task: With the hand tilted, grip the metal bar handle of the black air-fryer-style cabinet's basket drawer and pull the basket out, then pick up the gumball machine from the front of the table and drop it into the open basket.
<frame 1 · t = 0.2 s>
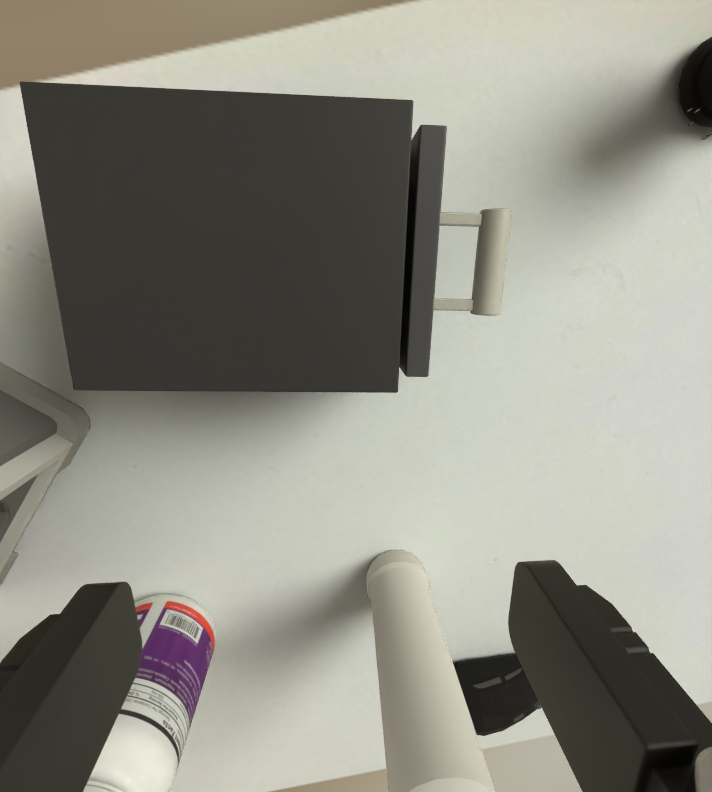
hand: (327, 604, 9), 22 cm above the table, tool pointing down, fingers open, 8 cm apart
gumball machine: (706, 88, 26), on the table
basket: (331, 260, 23), point 5 cm above the table, slide at 0.5 cm
pill bottle: (173, 624, 36), on the table
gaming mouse: (501, 674, 40), on the table
fryer: (264, 260, 28), on the table
bottle: (395, 571, 36), on the table
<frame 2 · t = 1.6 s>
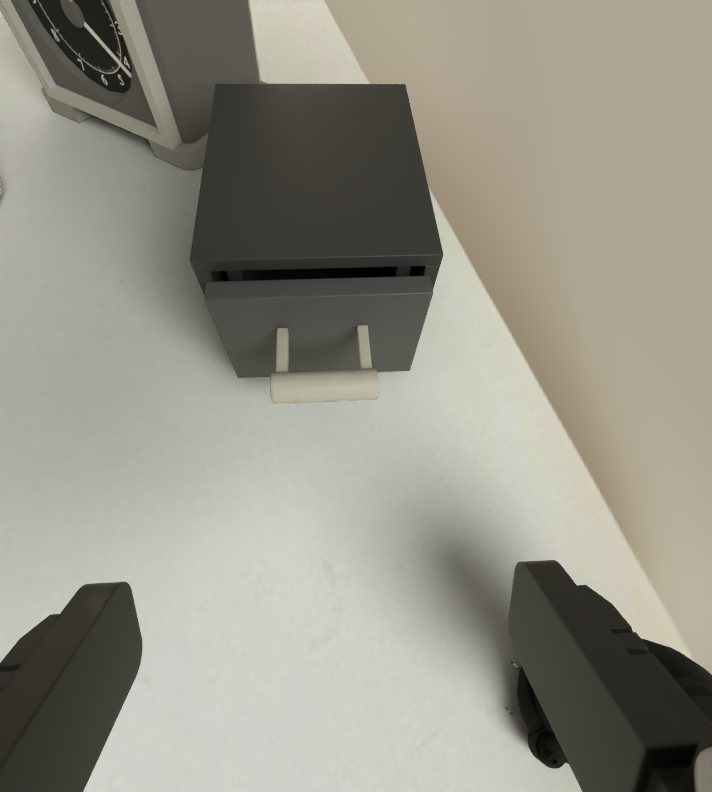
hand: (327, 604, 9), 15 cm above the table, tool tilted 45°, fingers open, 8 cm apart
gumball machine: (557, 694, 21), on the table
basket: (320, 274, 27), point 5 cm above the table, slide at 0.5 cm
alarm clock: (164, 107, 42), on the table
fryer: (320, 275, 33), on the table
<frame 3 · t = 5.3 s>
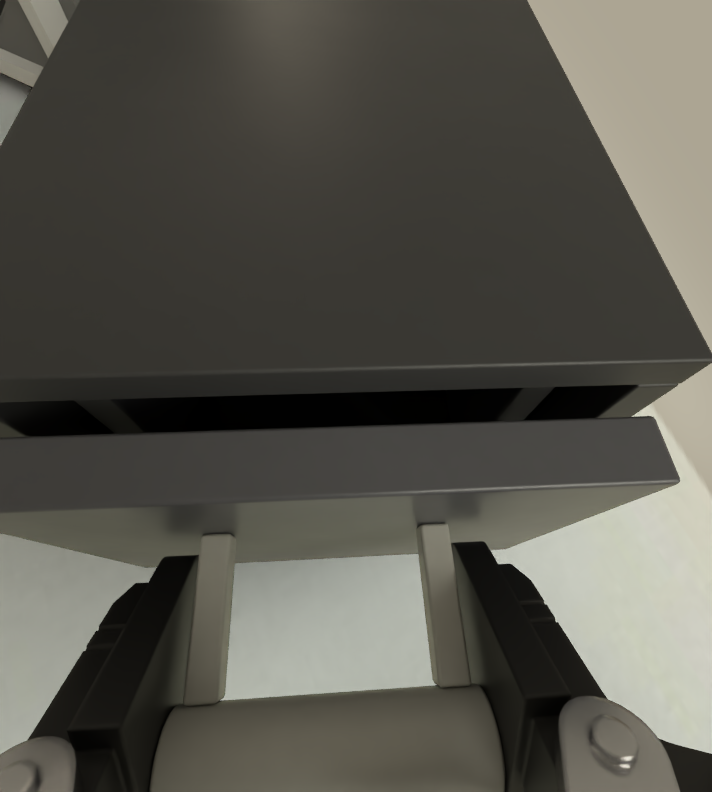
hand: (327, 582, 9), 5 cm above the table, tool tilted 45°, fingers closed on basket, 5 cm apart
basket: (324, 355, 12), point 5 cm above the table, slide at 0.5 cm, touching gripper
alarm clock: (94, 55, 28), on the table
fryer: (325, 329, 18), on the table
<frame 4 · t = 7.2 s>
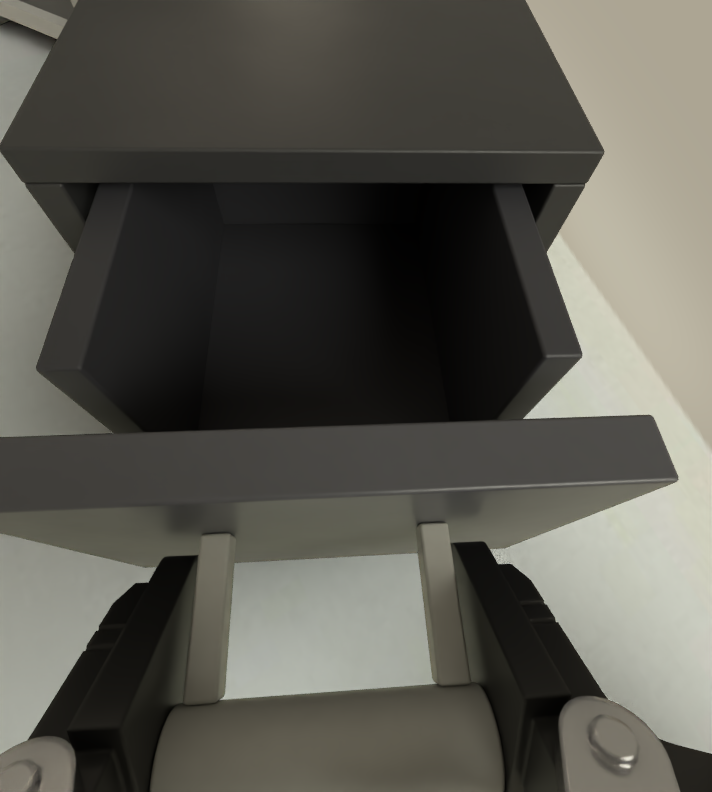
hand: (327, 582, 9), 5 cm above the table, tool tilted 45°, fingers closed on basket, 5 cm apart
basket: (323, 355, 12), point 5 cm above the table, slide at 5.8 cm, touching gripper
alarm clock: (109, 18, 31), on the table
fryer: (322, 242, 21), on the table
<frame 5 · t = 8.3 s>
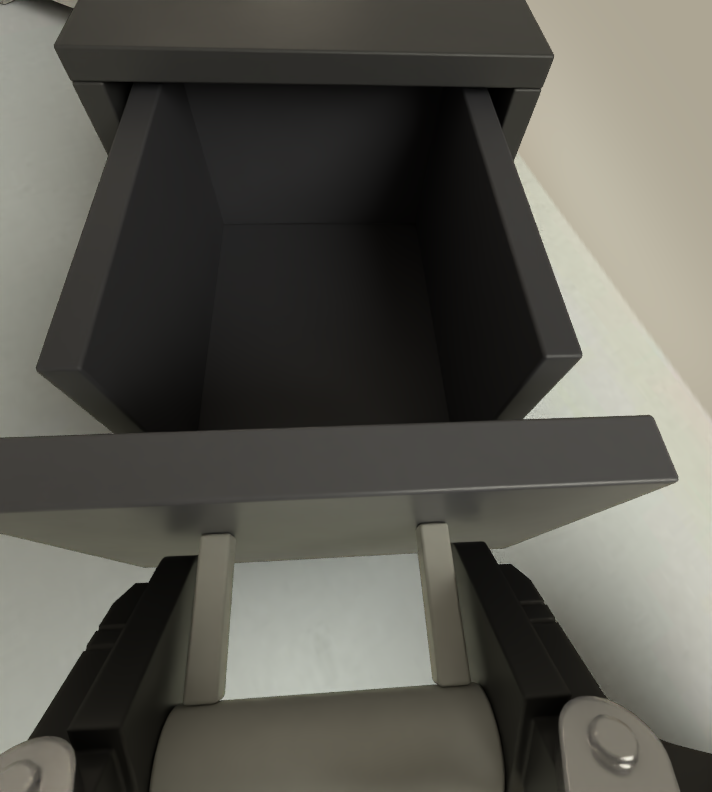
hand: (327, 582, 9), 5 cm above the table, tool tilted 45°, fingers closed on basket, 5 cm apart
basket: (323, 355, 12), point 5 cm above the table, slide at 9.8 cm, touching gripper
fryer: (320, 188, 23), on the table
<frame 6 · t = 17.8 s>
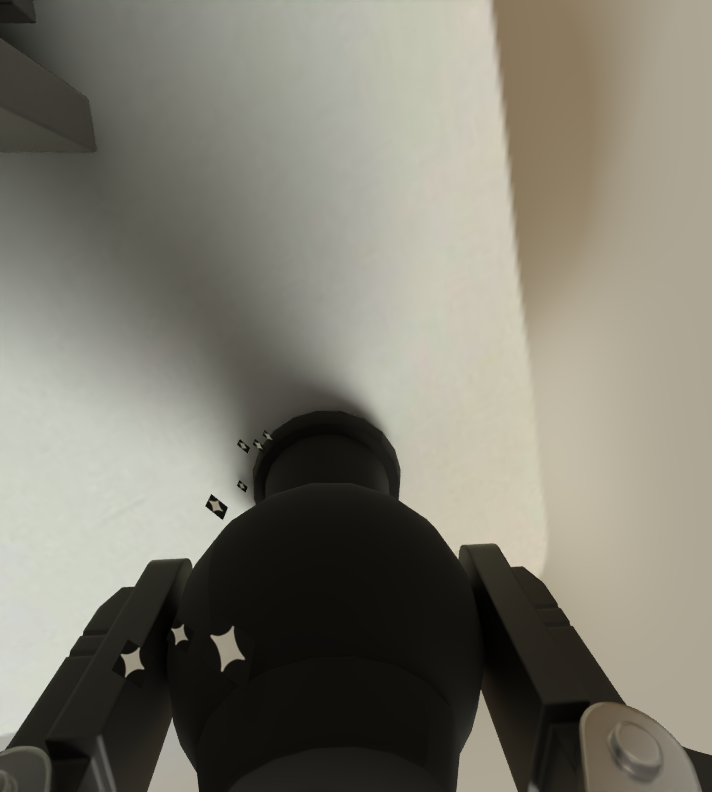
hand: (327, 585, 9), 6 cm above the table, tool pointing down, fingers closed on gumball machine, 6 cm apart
gumball machine: (323, 466, 15), on the table, touching gripper
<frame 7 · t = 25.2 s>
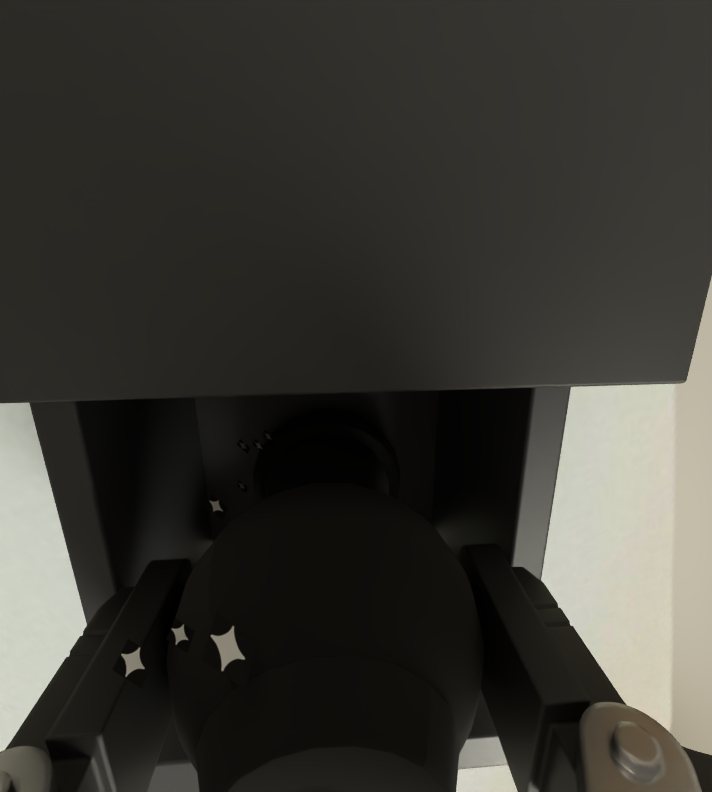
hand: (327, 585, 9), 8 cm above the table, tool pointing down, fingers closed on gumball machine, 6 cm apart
gumball machine: (323, 466, 15), point 3 cm above the table, touching gripper
basket: (321, 522, 13), point 5 cm above the table, slide at 9.5 cm
fryer: (308, 70, 13), on the table
when the fingers open (10 cm above the table, at t = 38.3 s): gumball machine drops 2 cm, resting on basket.
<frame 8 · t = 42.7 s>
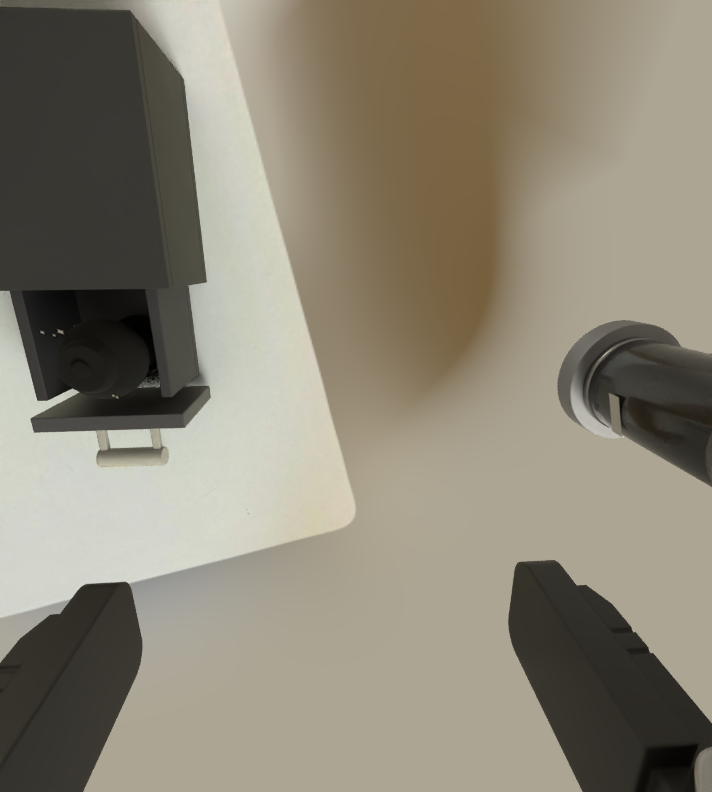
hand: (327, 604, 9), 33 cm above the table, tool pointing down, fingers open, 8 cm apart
gumball machine: (141, 340, 37), point 2 cm above the table, touching basket
basket: (121, 356, 35), point 5 cm above the table, slide at 9.5 cm, touching gumball machine
fryer: (119, 187, 35), on the table
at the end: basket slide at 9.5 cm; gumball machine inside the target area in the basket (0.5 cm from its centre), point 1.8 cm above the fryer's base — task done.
